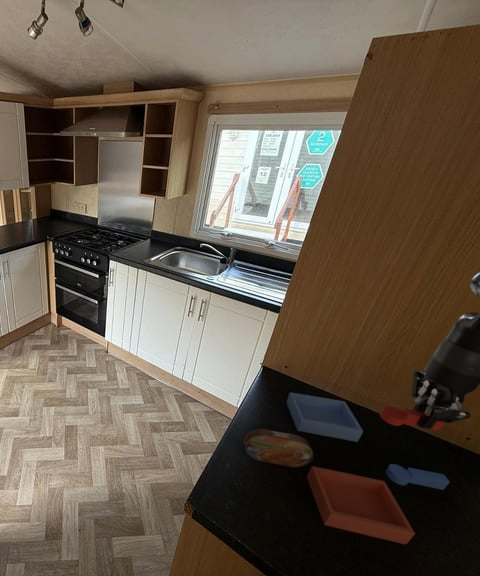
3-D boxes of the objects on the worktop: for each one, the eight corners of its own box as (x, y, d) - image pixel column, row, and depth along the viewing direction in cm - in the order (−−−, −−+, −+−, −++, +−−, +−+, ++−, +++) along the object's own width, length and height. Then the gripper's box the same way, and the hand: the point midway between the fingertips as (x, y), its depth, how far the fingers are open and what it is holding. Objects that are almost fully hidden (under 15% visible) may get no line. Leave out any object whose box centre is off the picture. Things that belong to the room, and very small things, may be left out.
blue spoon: (434, 477, 75) (440, 470, 73) (446, 494, 71) (453, 486, 70) (382, 467, 77) (387, 459, 76) (391, 483, 73) (397, 475, 72)
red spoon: (430, 420, 72) (437, 411, 70) (442, 434, 68) (450, 425, 67) (375, 410, 74) (381, 401, 73) (385, 423, 71) (391, 414, 69)
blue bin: (340, 411, 93) (345, 401, 91) (357, 442, 83) (363, 431, 81) (286, 402, 96) (289, 392, 94) (297, 430, 86) (301, 420, 85)
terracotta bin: (377, 492, 72) (384, 481, 70) (406, 544, 62) (415, 533, 61) (306, 476, 75) (311, 465, 73) (324, 524, 66) (330, 513, 64)
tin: (242, 457, 79) (249, 434, 75) (240, 446, 82) (247, 424, 78) (308, 471, 76) (319, 448, 72) (303, 459, 79) (314, 436, 75)
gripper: (514, 390, 56) (462, 453, 64) (457, 345, 68) (419, 403, 76) (463, 382, 58) (418, 444, 65) (416, 339, 70) (383, 397, 77)
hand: (419, 422), depth 71 cm, fingers closed on red spoon, 2 cm apart
